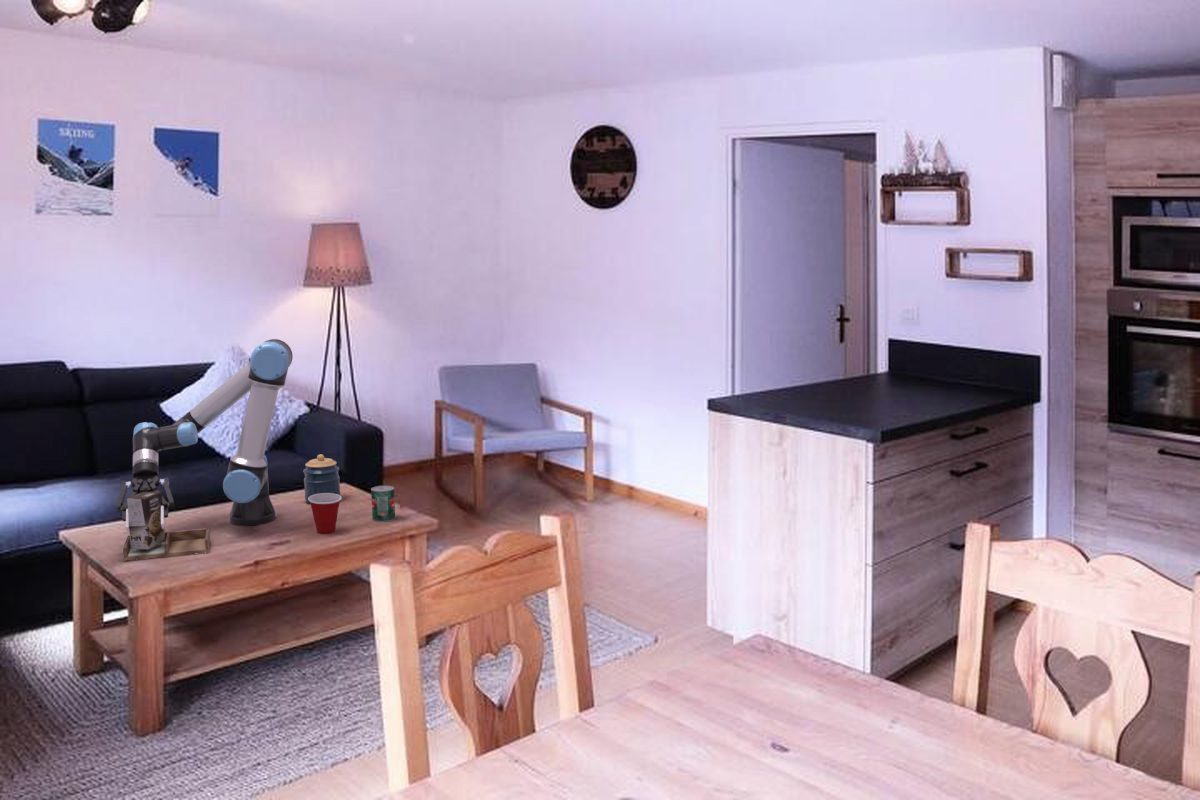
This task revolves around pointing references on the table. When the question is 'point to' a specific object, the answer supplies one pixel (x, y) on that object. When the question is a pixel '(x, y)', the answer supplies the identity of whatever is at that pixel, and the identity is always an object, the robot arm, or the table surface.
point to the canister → (321, 477)
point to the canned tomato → (383, 503)
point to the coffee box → (145, 520)
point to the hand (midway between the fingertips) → (145, 527)
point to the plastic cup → (325, 511)
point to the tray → (172, 545)
